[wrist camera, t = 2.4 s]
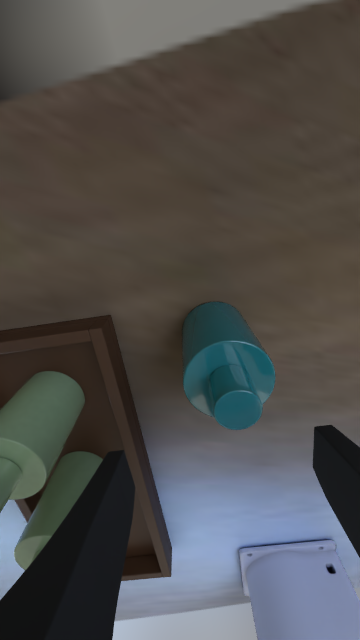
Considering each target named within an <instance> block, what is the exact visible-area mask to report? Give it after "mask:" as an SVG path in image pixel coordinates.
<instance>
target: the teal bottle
mask: <svg viewBox="0 0 360 640" xmlns="http://www.w3.org/2000/svg"><path fill="white" fill-rule="evenodd" d="M182 359H183V387H184V391H185V394H186V396H187V398H188V400H189V401H190V402H191V404H192V405H193V406H194V407H195V408H196V409H198V410H199V411H200V412H202V413H204V414H206V415H209V416H211V417H215V419H216V421H217V422H218V423H219V424H220V425H221V426H223V427H225V428H227V429H231V430H241V429H246V428H248V427H250V426H252V425H254V424H255V423H256V422H257V421H258V420H259V418H260V417H261V414H262V410H263V406H262V405H263V404H264V403H265V401H266V400H267V399H268V398H269V396H270V394H271V393H272V390H273V388H274V384H275V369H274V365H273V363H272V361H271V359H270V358H269V356H268V355H267V353H266V352H265V350H264V349H263V347H262V346H261V344H260V342H259V341H258V339H257V338H256V336H255V335H254V333H253V332H252V330H251V329H250V327H249V326H248V324H247V323H246V321H245V320H244V318H243V317H242V315H241V314H240V312H239V311H238V310H237V309H236V308H234V307H233V306H231V305H229V304H226V303H223V302H208V303H205V304H202V305H200V306H198V307H196V308H195V309H193V310H192V311H191V312H190V313H189V314H188V316H187V317H186V319H185V321H184V323H183V327H182Z"/></svg>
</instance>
